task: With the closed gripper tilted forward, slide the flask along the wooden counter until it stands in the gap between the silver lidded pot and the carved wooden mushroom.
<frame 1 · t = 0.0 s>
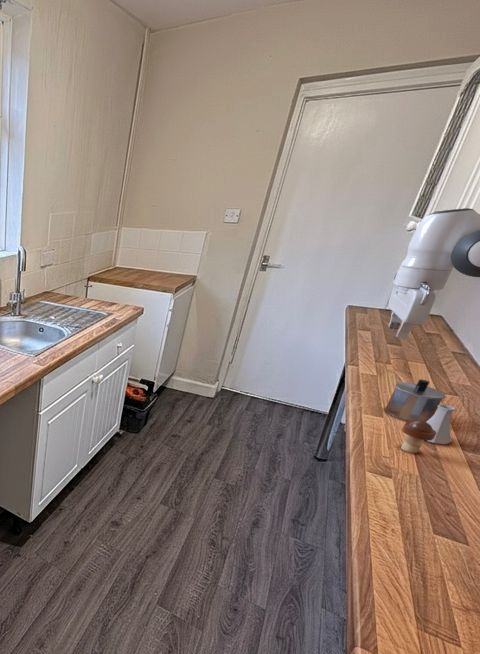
hand: (396, 333, 106), 30 cm above the worktop, tool pointing down, fingers open, 8 cm apart
pot: (407, 415, 129), on the worktop
pot lid: (419, 391, 125), point 8 cm above the worktop, touching pot
flask: (430, 438, 117), on the worktop
mushroom: (409, 450, 111), on the worktop
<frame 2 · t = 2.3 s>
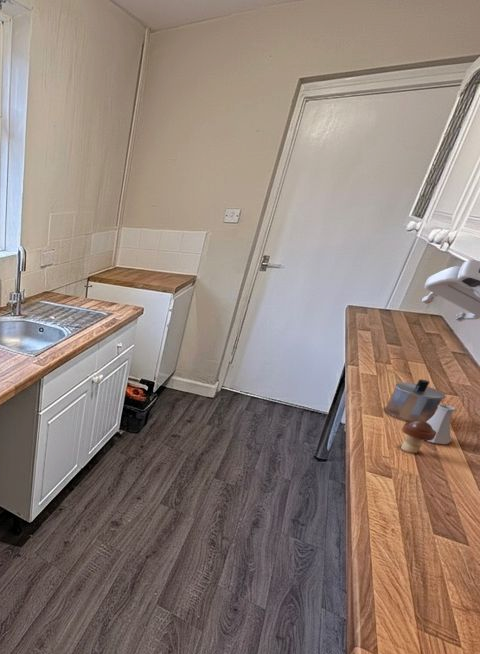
hand: (440, 309, 119), 33 cm above the worktop, tool tilted 45°, fingers open, 8 cm apart
nothing on the worktop moved.
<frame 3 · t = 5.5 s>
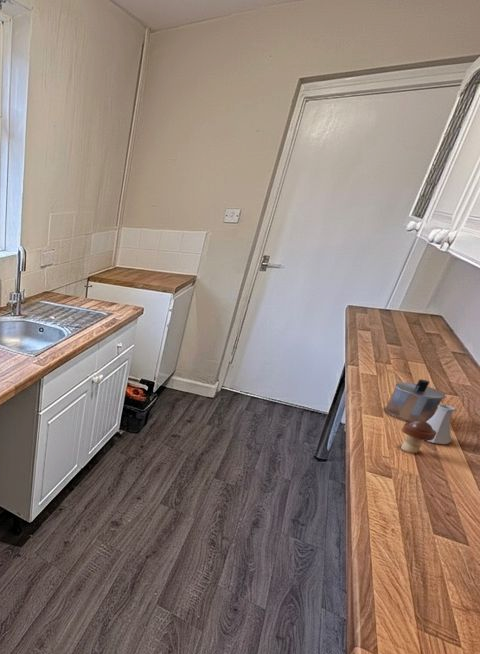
nothing on the worktop moved.
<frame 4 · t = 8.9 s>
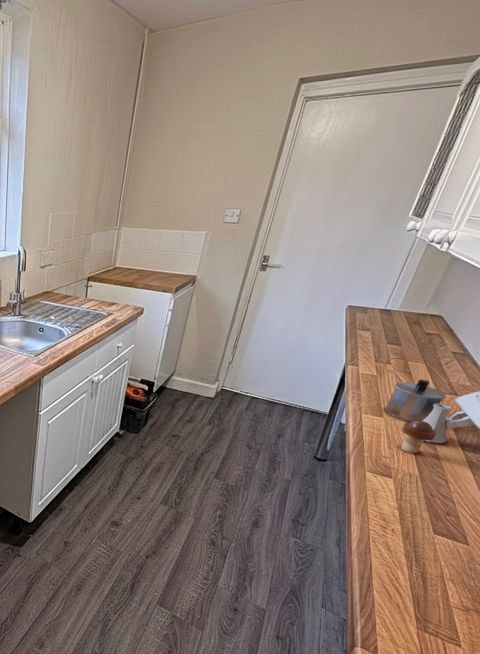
hand: (446, 424, 114), 5 cm above the worktop, tool tilted 45°, fingers closed
flask: (426, 437, 117), on the worktop, touching gripper
everything else where it was.
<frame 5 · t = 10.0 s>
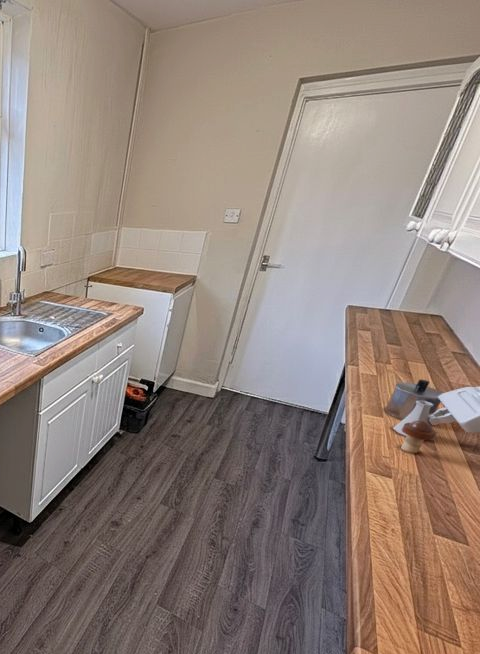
hand: (428, 420, 116), 5 cm above the worktop, tool tilted 45°, fingers closed
flask: (410, 434, 119), on the worktop, touching gripper
everything else where it was.
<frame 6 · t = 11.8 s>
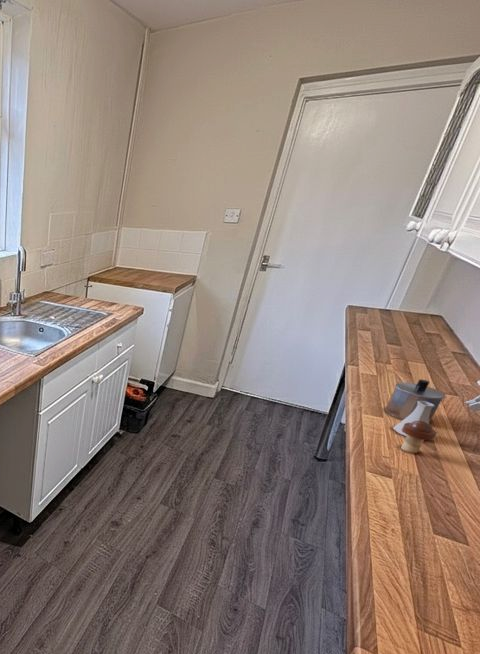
hand: (468, 406, 110), 11 cm above the worktop, tool tilted 45°, fingers closed
flask: (410, 434, 119), on the worktop
everything else where it was.
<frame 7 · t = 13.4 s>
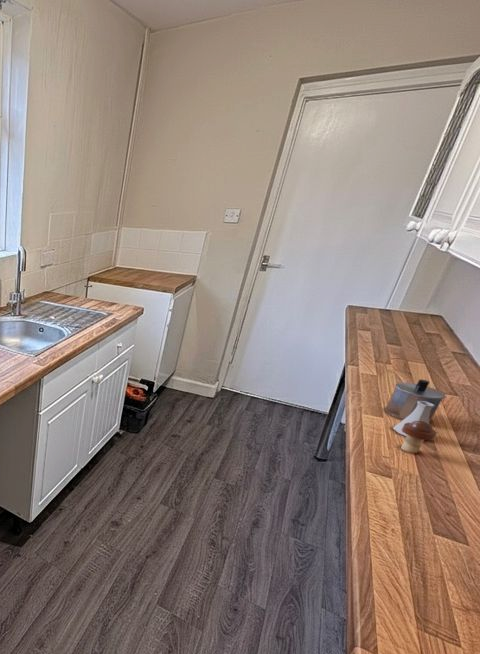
nothing on the worktop moved.
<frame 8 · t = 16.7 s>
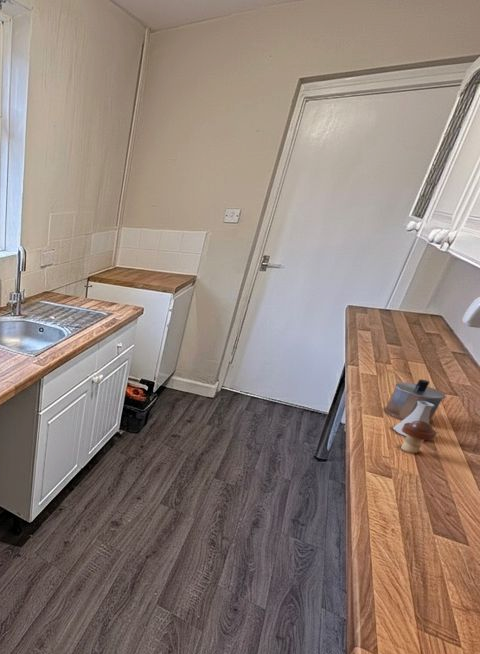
nothing on the worktop moved.
at the end: flask inside the target area on the worktop beside the pot (3.3 cm from its centre), on the worktop; flask tilted 0°; flask moved 4.2 cm from its start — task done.
